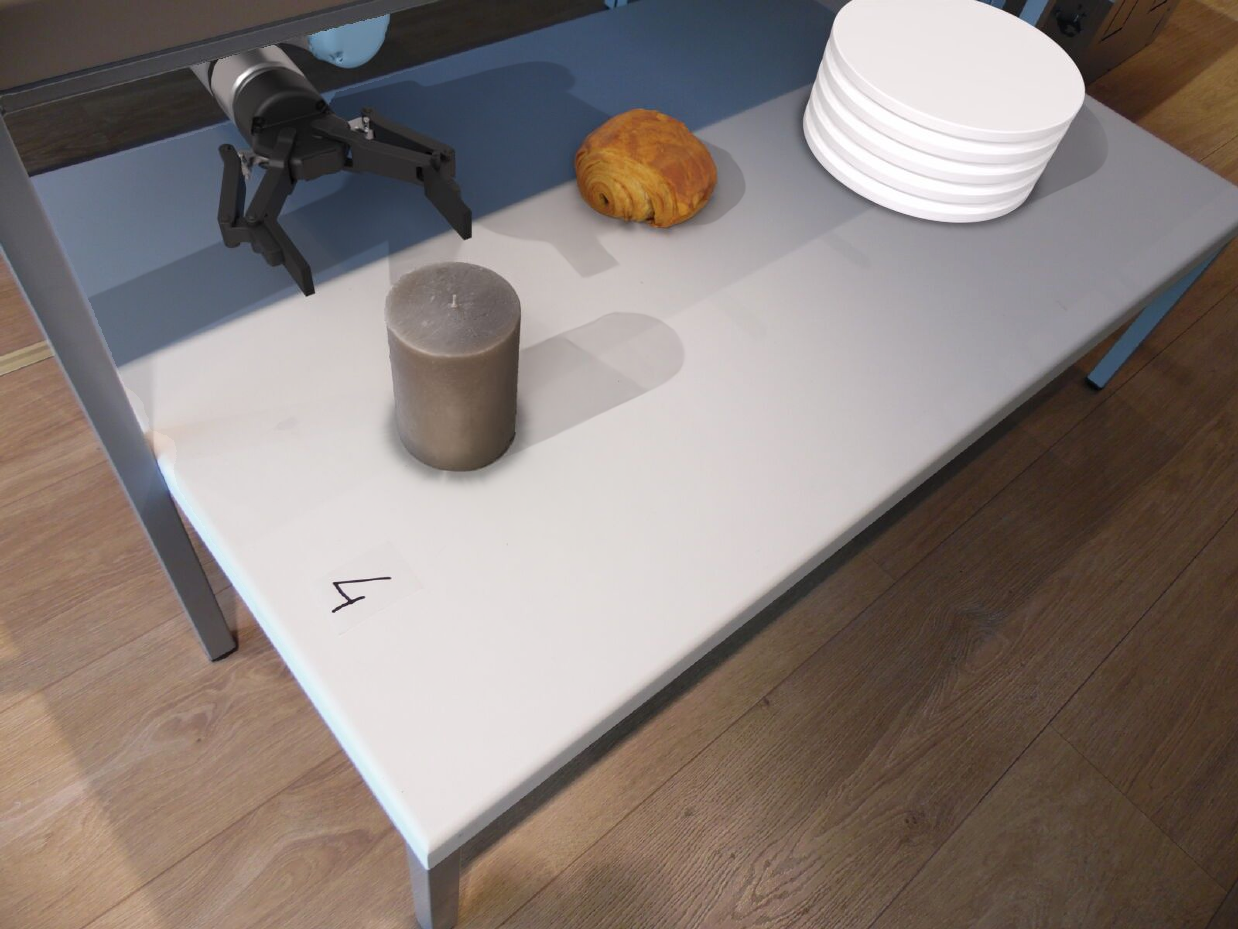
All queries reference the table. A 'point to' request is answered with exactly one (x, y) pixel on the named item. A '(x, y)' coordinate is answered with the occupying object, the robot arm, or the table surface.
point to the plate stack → (940, 106)
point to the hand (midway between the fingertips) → (391, 253)
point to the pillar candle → (454, 363)
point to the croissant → (645, 169)
